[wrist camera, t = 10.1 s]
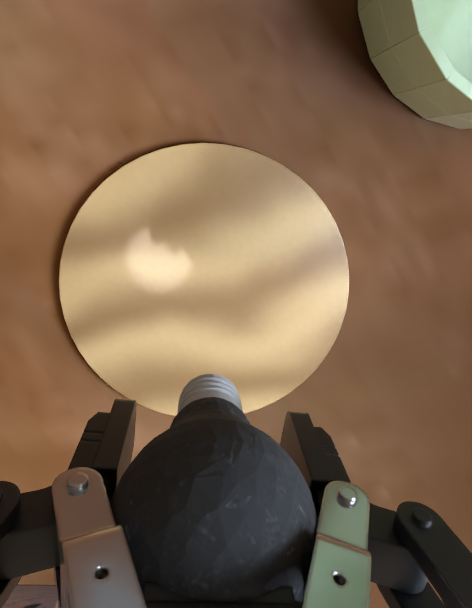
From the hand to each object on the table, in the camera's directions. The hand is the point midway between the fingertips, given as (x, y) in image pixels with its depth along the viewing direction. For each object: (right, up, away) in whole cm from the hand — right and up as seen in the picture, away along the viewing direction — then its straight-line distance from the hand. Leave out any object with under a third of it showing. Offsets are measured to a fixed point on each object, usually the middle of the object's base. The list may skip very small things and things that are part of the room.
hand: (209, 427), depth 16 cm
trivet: (-1, +5, +15) cm, 16 cm away
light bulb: (0, +1, +3) cm, 3 cm away
